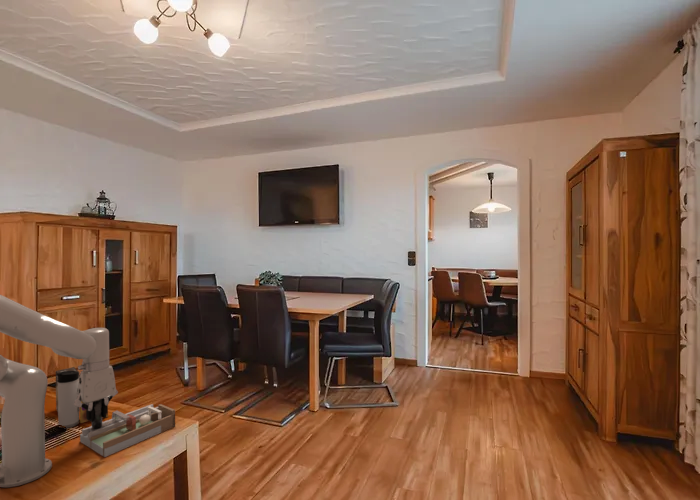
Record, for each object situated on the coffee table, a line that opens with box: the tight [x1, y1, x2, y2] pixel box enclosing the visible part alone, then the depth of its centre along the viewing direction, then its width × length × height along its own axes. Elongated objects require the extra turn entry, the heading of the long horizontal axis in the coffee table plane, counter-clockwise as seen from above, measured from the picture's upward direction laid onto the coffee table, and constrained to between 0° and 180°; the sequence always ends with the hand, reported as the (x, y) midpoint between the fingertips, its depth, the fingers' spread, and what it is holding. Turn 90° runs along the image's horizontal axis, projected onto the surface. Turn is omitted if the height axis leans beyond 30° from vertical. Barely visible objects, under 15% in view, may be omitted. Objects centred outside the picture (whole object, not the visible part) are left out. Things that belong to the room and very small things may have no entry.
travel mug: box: [57, 371, 80, 429], centre depth 140 cm, size 6×7×20 cm
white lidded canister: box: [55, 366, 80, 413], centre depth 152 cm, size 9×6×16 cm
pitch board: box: [79, 403, 176, 458], centre depth 134 cm, size 24×17×7 cm
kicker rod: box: [89, 399, 136, 432], centre depth 129 cm, size 10×12×11 cm
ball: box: [139, 414, 151, 426], centre depth 135 cm, size 4×4×4 cm
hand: (96, 418), depth 129 cm, fingers closed on kicker rod, 3 cm apart
